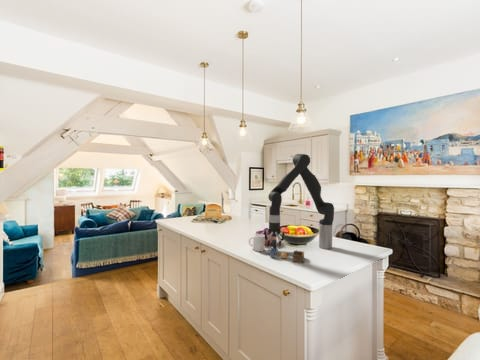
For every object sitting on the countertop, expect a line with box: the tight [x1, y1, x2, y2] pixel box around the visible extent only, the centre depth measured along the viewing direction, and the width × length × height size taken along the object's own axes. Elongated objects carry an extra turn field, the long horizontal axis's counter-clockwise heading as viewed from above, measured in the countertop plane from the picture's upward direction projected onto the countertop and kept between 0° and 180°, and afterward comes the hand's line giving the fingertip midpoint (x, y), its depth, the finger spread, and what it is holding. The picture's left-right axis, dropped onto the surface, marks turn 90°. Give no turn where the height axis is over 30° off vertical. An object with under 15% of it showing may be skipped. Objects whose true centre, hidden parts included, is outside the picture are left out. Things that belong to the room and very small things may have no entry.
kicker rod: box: [269, 238, 279, 259], centre depth 168 cm, size 12×5×9 cm, turn 165°
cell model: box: [255, 227, 278, 245], centre depth 199 cm, size 17×20×11 cm
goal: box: [292, 250, 305, 264], centre depth 160 cm, size 10×6×4 cm, turn 165°
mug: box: [248, 233, 266, 252], centre depth 181 cm, size 12×8×10 cm
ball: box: [280, 252, 288, 260], centre depth 162 cm, size 4×4×4 cm
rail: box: [267, 247, 298, 257], centre depth 171 cm, size 3×19×3 cm, turn 75°
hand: (274, 246), depth 172 cm, fingers open, 6 cm apart
